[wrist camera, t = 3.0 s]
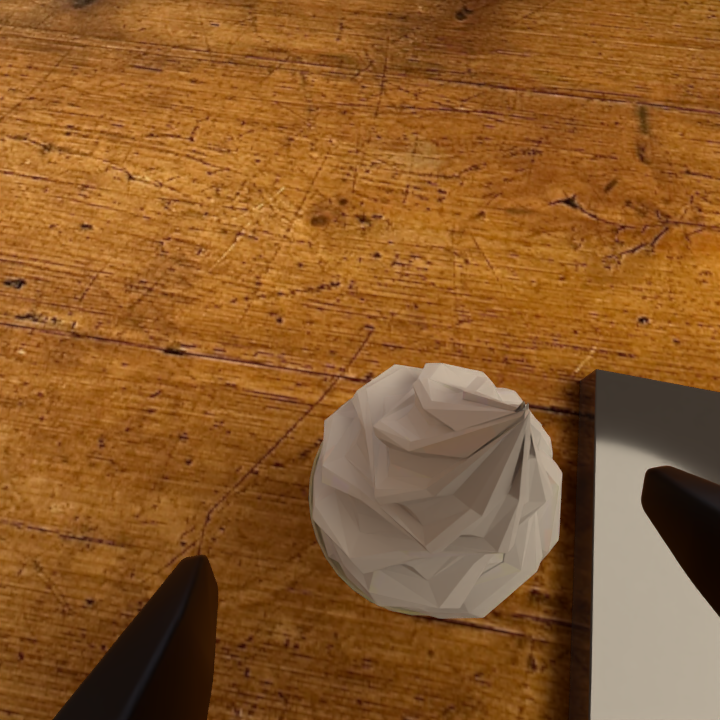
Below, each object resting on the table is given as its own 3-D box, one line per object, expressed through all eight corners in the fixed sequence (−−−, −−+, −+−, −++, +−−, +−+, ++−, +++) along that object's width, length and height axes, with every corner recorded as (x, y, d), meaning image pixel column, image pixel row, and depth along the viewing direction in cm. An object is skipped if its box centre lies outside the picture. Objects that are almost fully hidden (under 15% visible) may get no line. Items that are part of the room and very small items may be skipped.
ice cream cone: (484, 528, 18) (957, 495, 4) (377, 610, 17) (471, 998, 3) (408, 423, 19) (538, 117, 5) (306, 492, 18) (127, 342, 4)
